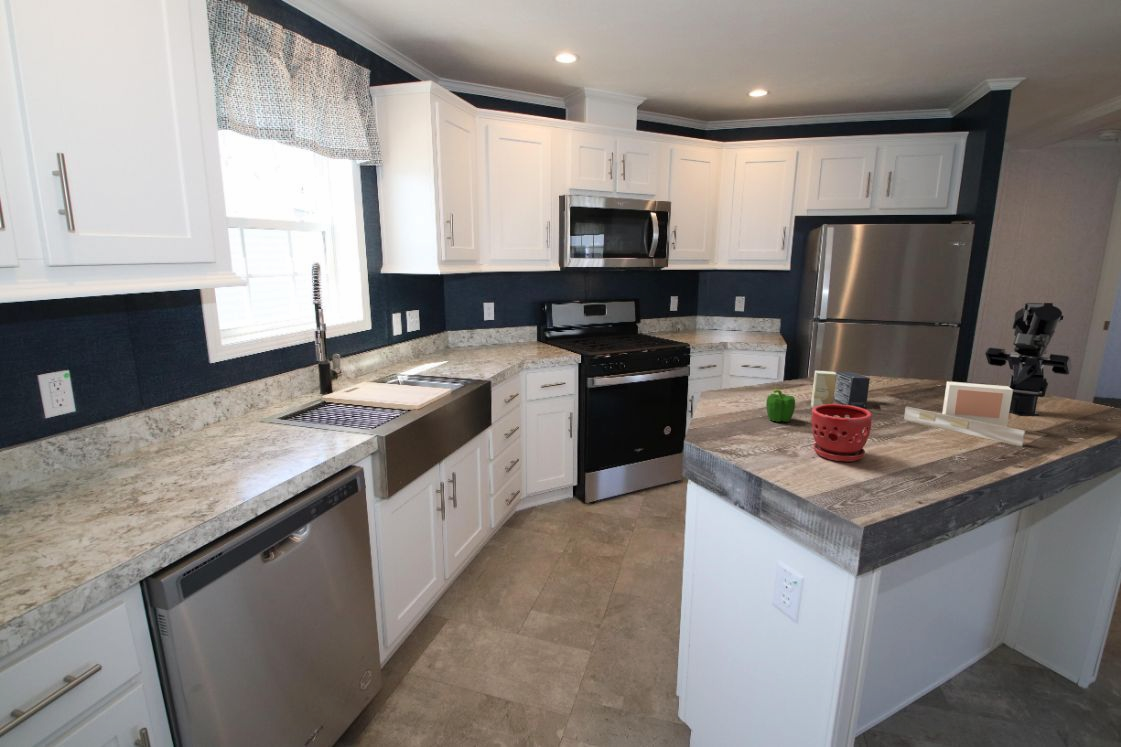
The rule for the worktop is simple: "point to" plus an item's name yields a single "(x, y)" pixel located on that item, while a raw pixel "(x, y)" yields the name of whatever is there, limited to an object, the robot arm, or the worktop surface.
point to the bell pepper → (780, 407)
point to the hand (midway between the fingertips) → (1015, 382)
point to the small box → (851, 389)
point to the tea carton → (978, 402)
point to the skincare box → (823, 388)
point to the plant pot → (840, 431)
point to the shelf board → (972, 427)
